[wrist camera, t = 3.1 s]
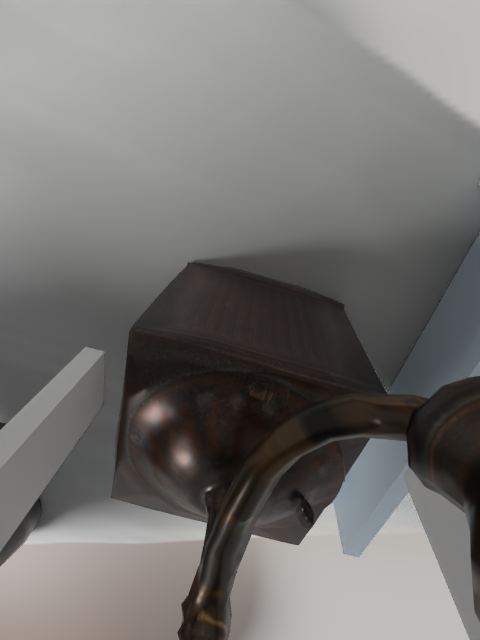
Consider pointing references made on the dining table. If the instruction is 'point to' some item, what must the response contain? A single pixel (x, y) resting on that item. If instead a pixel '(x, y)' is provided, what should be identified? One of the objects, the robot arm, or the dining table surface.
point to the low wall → (421, 380)
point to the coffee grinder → (269, 423)
